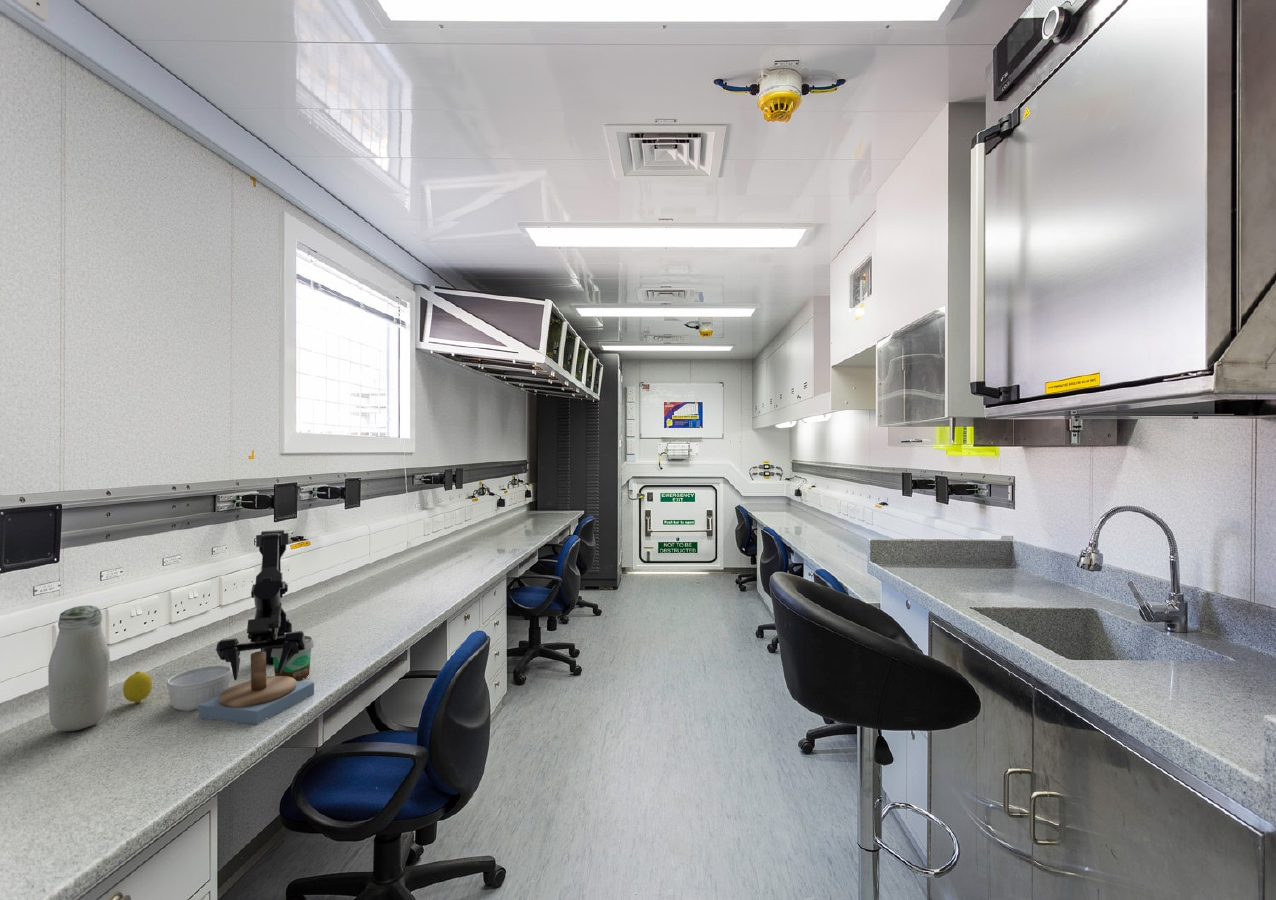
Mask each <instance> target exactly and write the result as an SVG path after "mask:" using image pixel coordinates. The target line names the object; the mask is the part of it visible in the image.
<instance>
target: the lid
mask: <svg viewBox="0 0 1276 900" xmlns="http://www.w3.org/2000/svg"><path fill="white" fill-rule="evenodd" d="M295 688H296V680H295V679H294V678H292V677H288V676H275V675H273V676H267V664H266V651H261V650H260V651H255V652H252V653H250V679H249V680H245V681H242V682H239V683H237V684H234V685H232V686H230V688H228V689H226V690H224V691H223V692H222V693H221V694H220V696H219V703H220V704H221V705H222V706H225V707H232V708H239V707H249V706H255V705H260V704H264V703H268V702H272V701H275V700H277V699H280V698H282V697H284V696H286V695H288V694H290V693H291V692H293V691H294V690H295Z"/></svg>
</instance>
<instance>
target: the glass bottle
mask: <svg viewBox="0 0 1276 900" xmlns="http://www.w3.org/2000/svg"><path fill="white" fill-rule="evenodd" d="M102 621H103V613H102V611H101V609H100V608H99V607H97V606H95V605H79V606H74V607H71V608H68V609H65V610H64V611H62V612H60V614H59V618H58V622H57V624H58V625H57V626H58V630H59V631H58V633H57V637H56V641H55V646H54V648H53V650H52V652H51V655H50V658H49V662H48V668H47V669H48V671H47V673H48V678H47V679H48V680H47V681H48V714H49V719H50V720H49V721H50V723H51V726H53V727H54V728H55V729H57V730H59V731H64V732H74V731H79V730H83V729H87V728H89V727H91V726H94V725H96V724H97V723H99V722H100V721H102V719H103V718H104V716H105V715H106V713H107V711H108V709H109V701H110V670H111V669H110V666H111V656H110V648H109V646H108V643H107V640H106V637H105V635H104V633H103V627H102Z"/></svg>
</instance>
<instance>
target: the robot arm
mask: <svg viewBox="0 0 1276 900" xmlns="http://www.w3.org/2000/svg"><path fill="white" fill-rule="evenodd" d="M289 534H290V533H289V532H285V530H284V529H277V530H276V529H275V530H262V531H261V533H260V534H256V536H255V548H258V549H259V550H258V551H259V552H260V554H261V557H262V558H261V571H260V572H259V573H257V575H256V577H255V584H254V583H253V584H252V587H251V590H250V596H251V598H252V599H253V600H254V607H255V614H254V618H253V619H248V620H247V627H246V633H247V639H248V640H249V641H248V642H247V641H246V642H239V640H238V638H237V637H235V638H228V639H227V638H226V639H220V641H218V642H217V643H216V648H215V651H216V653H217V655H218V657H219V659H220V660H221V661H225V662H226V663H230V667H231V668H232V676H233V680H234V681H235V682H236V681H237V679H238V678H239V677H238V676H239V672H240V671H239V670H240V662H241V658H240V655H241V652H244V651H253V650H260V651H266V665H274V662H273V657H271V652H272V649H281V648H283V650H282V654H281V658H280V662H279V666H278V675H280V674H281V672H282V671H283V669H284V668H285V666H286V664H287V663H288V662H289V660H290V659H291V658H292V657H293V655H294V654H297V653H299V651H301V650H304V649H305V644H306V642H305V636H306V635H305V633H304V632H303V631H302V630H297V631H293V624H292V623H291V621H290V619H289V618H287V616H288V615H287V613H286V611H285V610H284V609H283V607H282V606H283V604H282V601H281V600H282V598H283V597H284V596H283V595H286V593H288V592H289V591H288V590H289V584H288V583H287V582H286V581H285V580H283V573H282V572H281V571H282V570H281V567H282V566H281V562H282V557H283V556H284V554H285V552H286V550H287V546H288V545H290V544H289V543H290V542H289V541H290V539H289Z"/></svg>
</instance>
